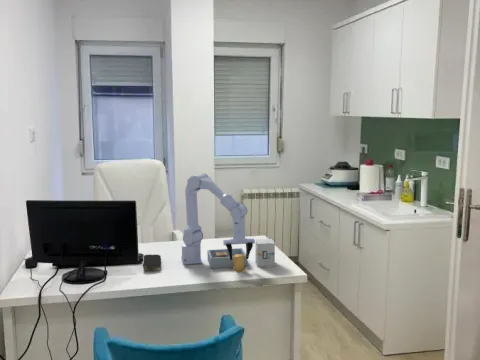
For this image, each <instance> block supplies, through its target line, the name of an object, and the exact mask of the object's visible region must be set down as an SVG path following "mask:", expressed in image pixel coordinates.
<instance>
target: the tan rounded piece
mask: <svg viewBox="0 0 480 360" xmlns="http://www.w3.org/2000/svg"><path fill="white" fill-rule="evenodd" d="M233 271H234V272H235V271H236V272H237V273H243V272H245V266H244V255H242V254H236V255H234V267H233Z"/></svg>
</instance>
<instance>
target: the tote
mask: <svg viewBox="0 0 480 360" xmlns="http://www.w3.org/2000/svg"><path fill="white" fill-rule="evenodd" d="M206 252H207V253H206V254H207V262H208V264H209V267H210V269H225V268H224V267H227V268H234V255H236V254H242V255H244V267H247V266H248V259H247V258H246V252H245V251H244V249H243V248H242V247H237V248H232V260H230V255H229V252H228V249H227V248H221V249H219V248H218V249H207V251H206ZM216 252H226V253H227V257H216Z"/></svg>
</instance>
